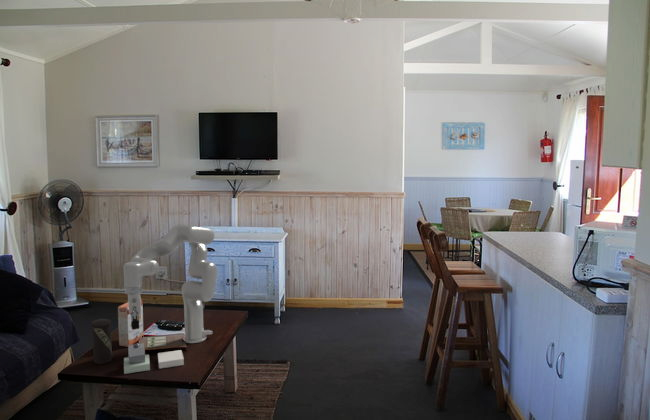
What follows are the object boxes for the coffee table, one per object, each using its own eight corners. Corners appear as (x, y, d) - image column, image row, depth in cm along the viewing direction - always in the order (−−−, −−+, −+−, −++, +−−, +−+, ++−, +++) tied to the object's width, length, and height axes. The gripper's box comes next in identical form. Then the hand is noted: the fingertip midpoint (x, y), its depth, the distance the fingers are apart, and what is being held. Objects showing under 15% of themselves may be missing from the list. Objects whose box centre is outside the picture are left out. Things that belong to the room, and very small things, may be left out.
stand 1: (149, 360, 239) (148, 354, 238) (150, 370, 229) (149, 363, 228) (124, 363, 235) (124, 357, 234) (124, 373, 225) (123, 367, 224)
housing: (144, 357, 235) (144, 340, 234) (145, 361, 230) (144, 345, 229) (128, 359, 233) (128, 343, 232) (128, 364, 228) (128, 347, 227)
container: (100, 366, 232) (98, 325, 230) (89, 361, 237) (86, 321, 234) (117, 359, 239) (114, 319, 237) (105, 355, 244) (103, 316, 242)
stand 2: (181, 355, 244) (181, 349, 244) (183, 364, 234) (183, 358, 234) (157, 359, 240) (157, 353, 240) (159, 368, 230) (158, 362, 230)
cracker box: (129, 347, 254) (127, 307, 251) (118, 346, 255) (116, 306, 252) (144, 337, 268) (142, 299, 265) (134, 336, 269) (132, 298, 266)
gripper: (142, 293, 220) (144, 330, 223) (141, 283, 236) (143, 318, 239) (124, 295, 218) (126, 333, 220) (124, 284, 234) (126, 320, 236)
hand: (135, 325), depth 229 cm, fingers open, 9 cm apart
